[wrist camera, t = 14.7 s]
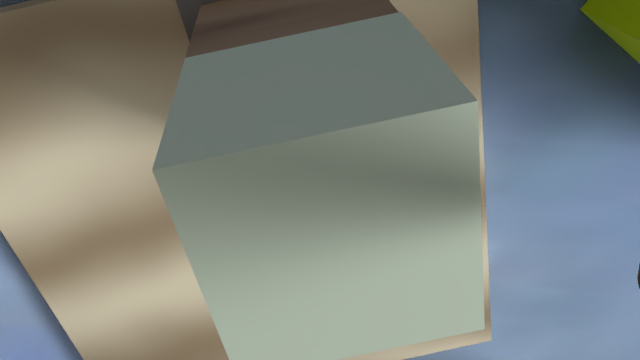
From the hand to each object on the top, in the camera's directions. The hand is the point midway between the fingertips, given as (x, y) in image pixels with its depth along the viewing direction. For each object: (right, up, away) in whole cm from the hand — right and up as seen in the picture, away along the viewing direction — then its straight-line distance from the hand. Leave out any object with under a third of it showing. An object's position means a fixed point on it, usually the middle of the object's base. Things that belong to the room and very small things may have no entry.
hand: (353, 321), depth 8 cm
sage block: (-1, +3, +5) cm, 6 cm away
